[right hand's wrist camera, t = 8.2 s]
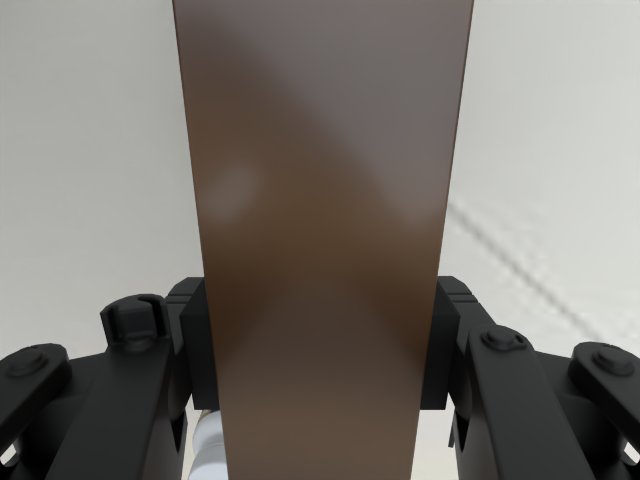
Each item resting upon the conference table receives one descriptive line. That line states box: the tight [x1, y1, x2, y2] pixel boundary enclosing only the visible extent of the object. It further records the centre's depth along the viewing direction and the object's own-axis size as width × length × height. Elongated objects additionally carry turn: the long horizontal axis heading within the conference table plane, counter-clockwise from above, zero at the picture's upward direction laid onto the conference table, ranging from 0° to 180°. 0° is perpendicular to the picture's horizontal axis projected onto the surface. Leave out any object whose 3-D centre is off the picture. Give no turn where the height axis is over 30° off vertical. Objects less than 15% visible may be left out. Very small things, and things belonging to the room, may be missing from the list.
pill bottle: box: [188, 410, 228, 480], centre depth 25 cm, size 5×5×9 cm
